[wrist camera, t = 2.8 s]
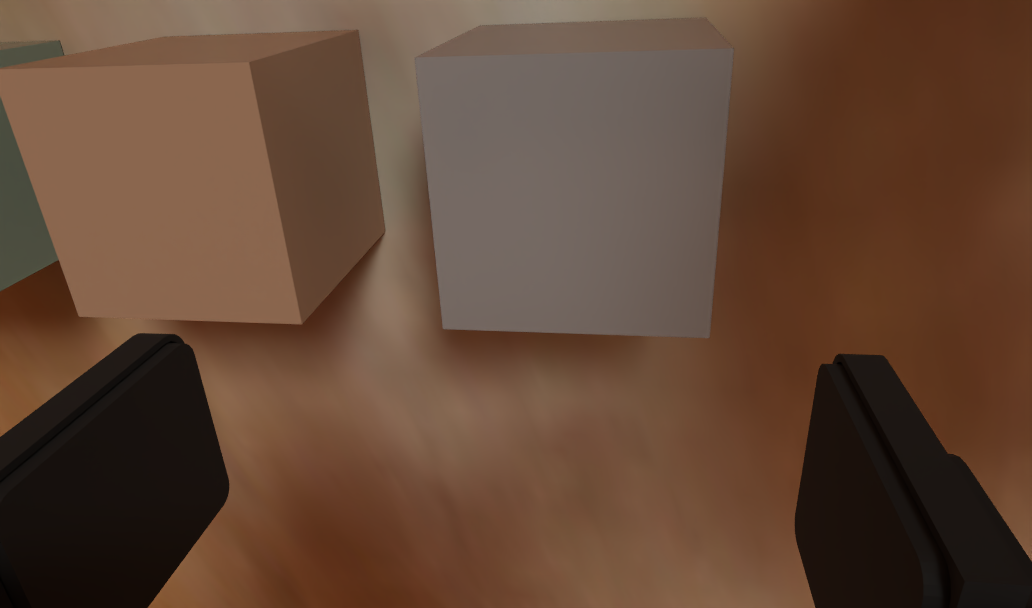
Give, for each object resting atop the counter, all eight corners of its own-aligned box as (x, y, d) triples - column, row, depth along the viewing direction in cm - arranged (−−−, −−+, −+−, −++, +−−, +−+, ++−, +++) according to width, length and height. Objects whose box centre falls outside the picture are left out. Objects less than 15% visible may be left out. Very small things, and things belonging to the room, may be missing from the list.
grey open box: (479, 25, 25) (414, 57, 18) (705, 17, 23) (734, 48, 16) (492, 232, 28) (443, 329, 21) (691, 235, 27) (709, 338, 20)
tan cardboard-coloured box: (164, 36, 27) (-9, 69, 19) (358, 29, 25) (248, 62, 18) (211, 229, 30) (78, 316, 23) (385, 231, 29) (301, 324, 22)
